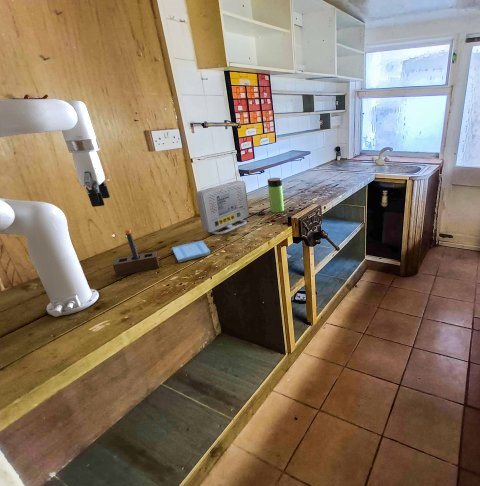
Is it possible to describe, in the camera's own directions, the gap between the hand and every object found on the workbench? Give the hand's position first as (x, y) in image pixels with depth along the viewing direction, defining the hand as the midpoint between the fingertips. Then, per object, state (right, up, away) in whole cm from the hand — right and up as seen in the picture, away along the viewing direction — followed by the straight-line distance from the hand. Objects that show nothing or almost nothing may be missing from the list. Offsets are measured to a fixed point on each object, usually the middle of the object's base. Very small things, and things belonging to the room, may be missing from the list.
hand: (101, 201), depth 99 cm
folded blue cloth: (+18, -17, +26) cm, 35 cm away
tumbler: (+45, +5, +72) cm, 85 cm away
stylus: (+4, -22, +14) cm, 27 cm away
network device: (+25, -5, +51) cm, 57 cm away
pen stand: (+4, -22, +14) cm, 27 cm away
